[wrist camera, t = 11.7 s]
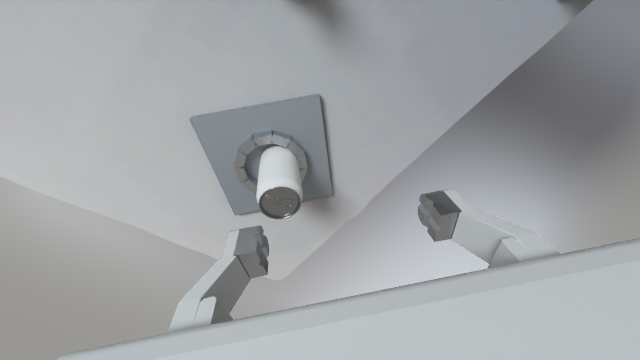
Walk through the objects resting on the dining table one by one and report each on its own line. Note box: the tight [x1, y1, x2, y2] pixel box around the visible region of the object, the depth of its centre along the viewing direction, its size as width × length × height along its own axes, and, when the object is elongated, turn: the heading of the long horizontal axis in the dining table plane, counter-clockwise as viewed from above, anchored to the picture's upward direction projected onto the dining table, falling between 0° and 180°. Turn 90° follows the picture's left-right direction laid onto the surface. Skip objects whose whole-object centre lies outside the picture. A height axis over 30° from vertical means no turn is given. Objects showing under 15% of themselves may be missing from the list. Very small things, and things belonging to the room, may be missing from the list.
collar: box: [234, 130, 308, 194], centre depth 40 cm, size 12×12×2 cm
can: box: [256, 145, 303, 219], centre depth 36 cm, size 6×6×12 cm
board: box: [190, 94, 332, 215], centre depth 41 cm, size 20×20×1 cm
